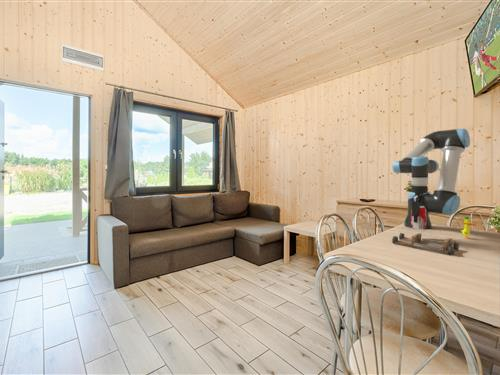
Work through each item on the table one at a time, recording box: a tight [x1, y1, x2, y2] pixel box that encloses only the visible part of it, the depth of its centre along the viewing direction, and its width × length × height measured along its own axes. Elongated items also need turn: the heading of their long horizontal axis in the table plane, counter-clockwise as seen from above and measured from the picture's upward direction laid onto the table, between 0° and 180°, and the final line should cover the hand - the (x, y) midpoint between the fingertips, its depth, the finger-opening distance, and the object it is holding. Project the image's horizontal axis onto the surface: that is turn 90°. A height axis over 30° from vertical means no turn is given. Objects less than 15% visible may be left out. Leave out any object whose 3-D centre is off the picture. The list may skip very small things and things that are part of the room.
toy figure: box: [460, 216, 478, 240], centre depth 139 cm, size 7×4×12 cm, turn 48°
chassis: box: [391, 232, 460, 256], centre depth 127 cm, size 13×25×5 cm, turn 40°
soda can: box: [411, 206, 427, 230], centre depth 140 cm, size 7×7×12 cm
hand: (418, 226), depth 141 cm, fingers closed on soda can, 7 cm apart
